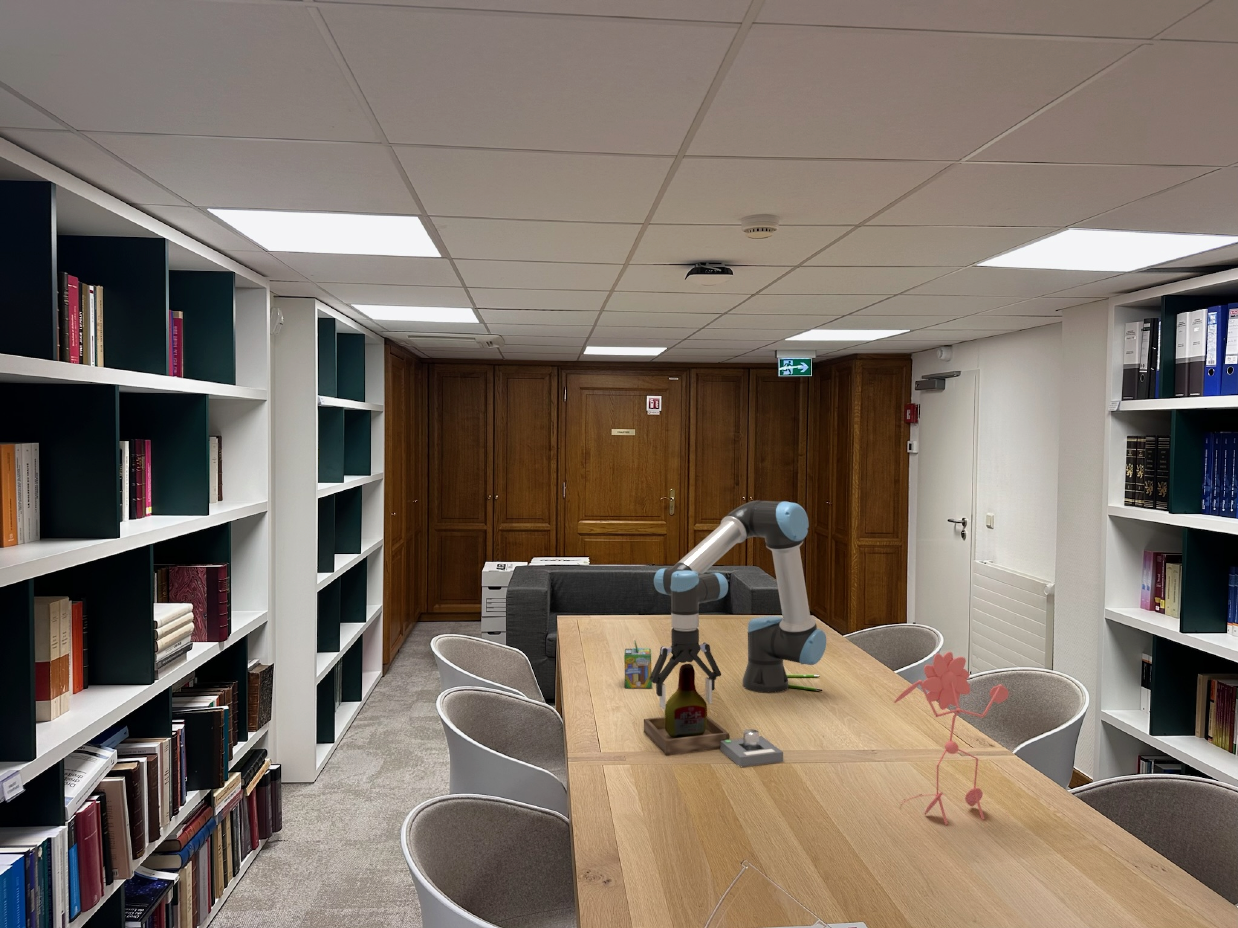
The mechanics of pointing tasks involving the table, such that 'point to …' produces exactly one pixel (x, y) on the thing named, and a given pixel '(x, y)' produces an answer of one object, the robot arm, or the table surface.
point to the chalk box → (637, 668)
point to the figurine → (946, 687)
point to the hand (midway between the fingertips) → (685, 704)
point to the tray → (686, 744)
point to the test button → (750, 739)
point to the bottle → (686, 707)
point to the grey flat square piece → (751, 752)
